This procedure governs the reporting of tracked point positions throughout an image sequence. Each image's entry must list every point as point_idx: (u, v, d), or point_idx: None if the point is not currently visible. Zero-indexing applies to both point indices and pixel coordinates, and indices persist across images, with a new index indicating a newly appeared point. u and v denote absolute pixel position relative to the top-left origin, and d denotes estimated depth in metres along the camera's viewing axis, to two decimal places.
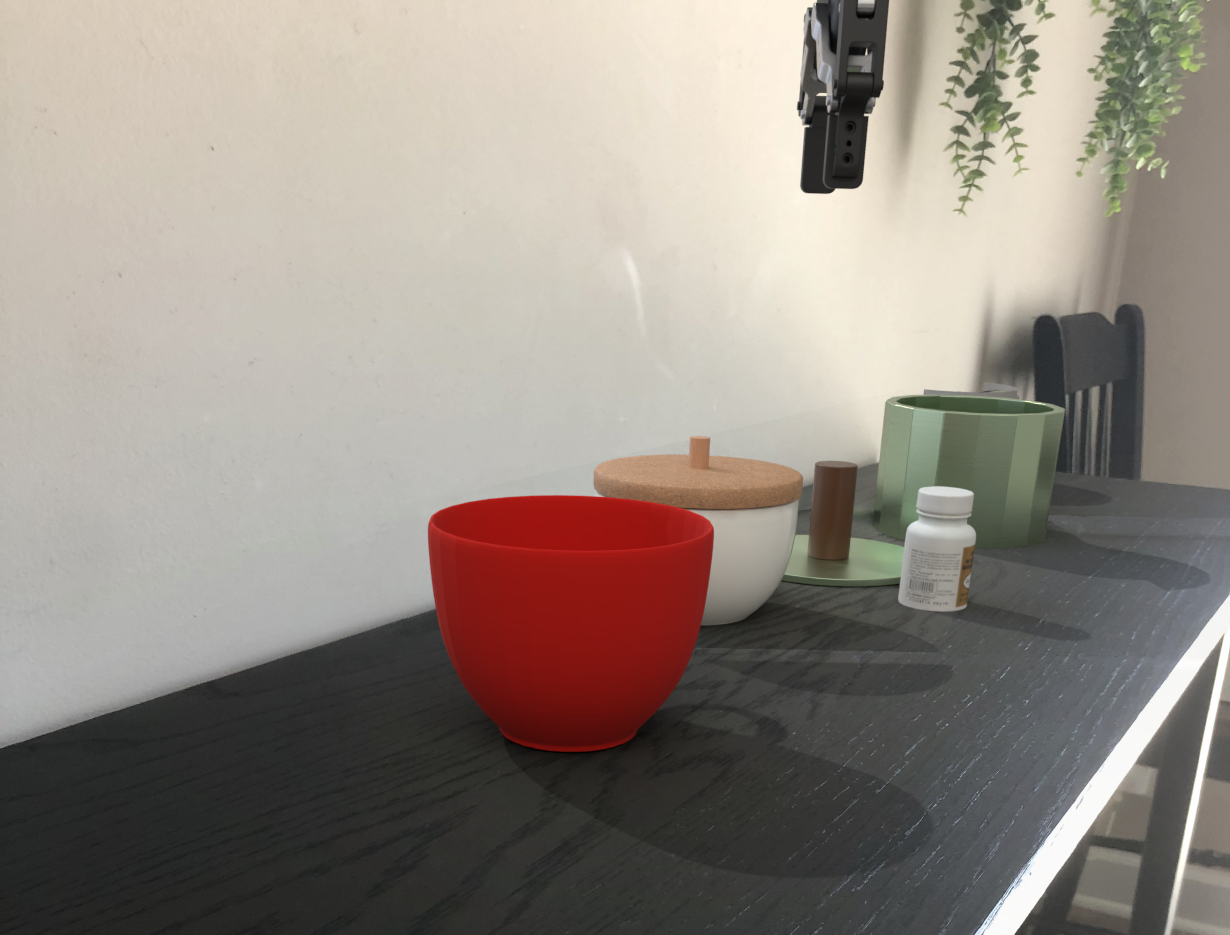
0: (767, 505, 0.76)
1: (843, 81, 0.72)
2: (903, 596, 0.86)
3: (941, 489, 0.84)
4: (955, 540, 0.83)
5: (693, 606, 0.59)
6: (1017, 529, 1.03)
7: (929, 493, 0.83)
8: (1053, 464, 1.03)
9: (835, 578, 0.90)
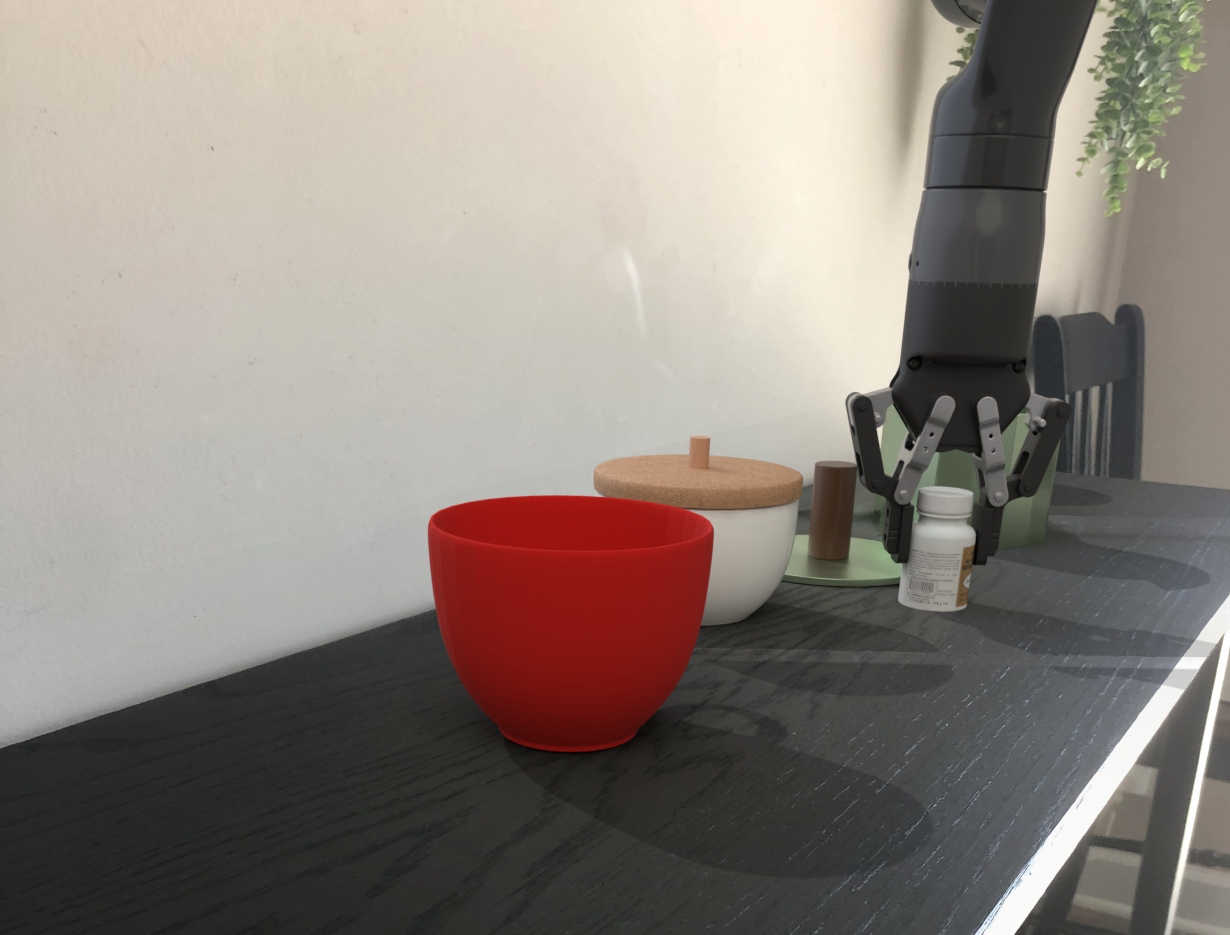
0: (767, 505, 0.76)
1: (860, 476, 0.84)
2: (903, 596, 0.86)
3: (941, 489, 0.84)
4: (955, 540, 0.83)
5: (693, 606, 0.59)
6: (1017, 529, 1.03)
7: (929, 493, 0.83)
8: (1053, 464, 1.03)
9: (835, 578, 0.90)
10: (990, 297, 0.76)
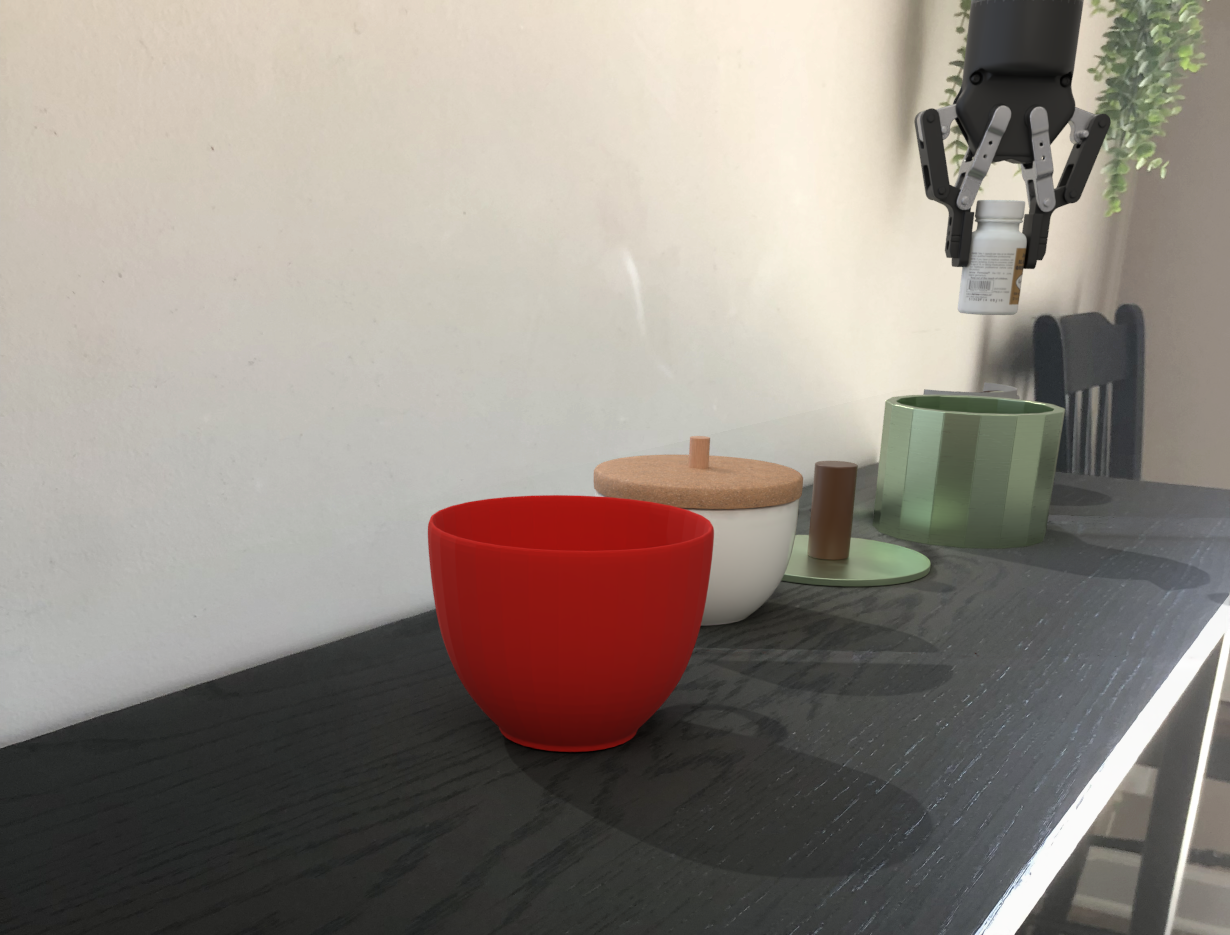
0: (767, 505, 0.76)
1: (926, 189, 0.97)
2: (963, 298, 0.99)
3: None
4: (1010, 240, 0.96)
5: (693, 606, 0.59)
6: (1017, 529, 1.03)
7: (987, 200, 0.96)
8: (1053, 464, 1.03)
9: (835, 578, 0.90)
10: (1043, 9, 0.89)
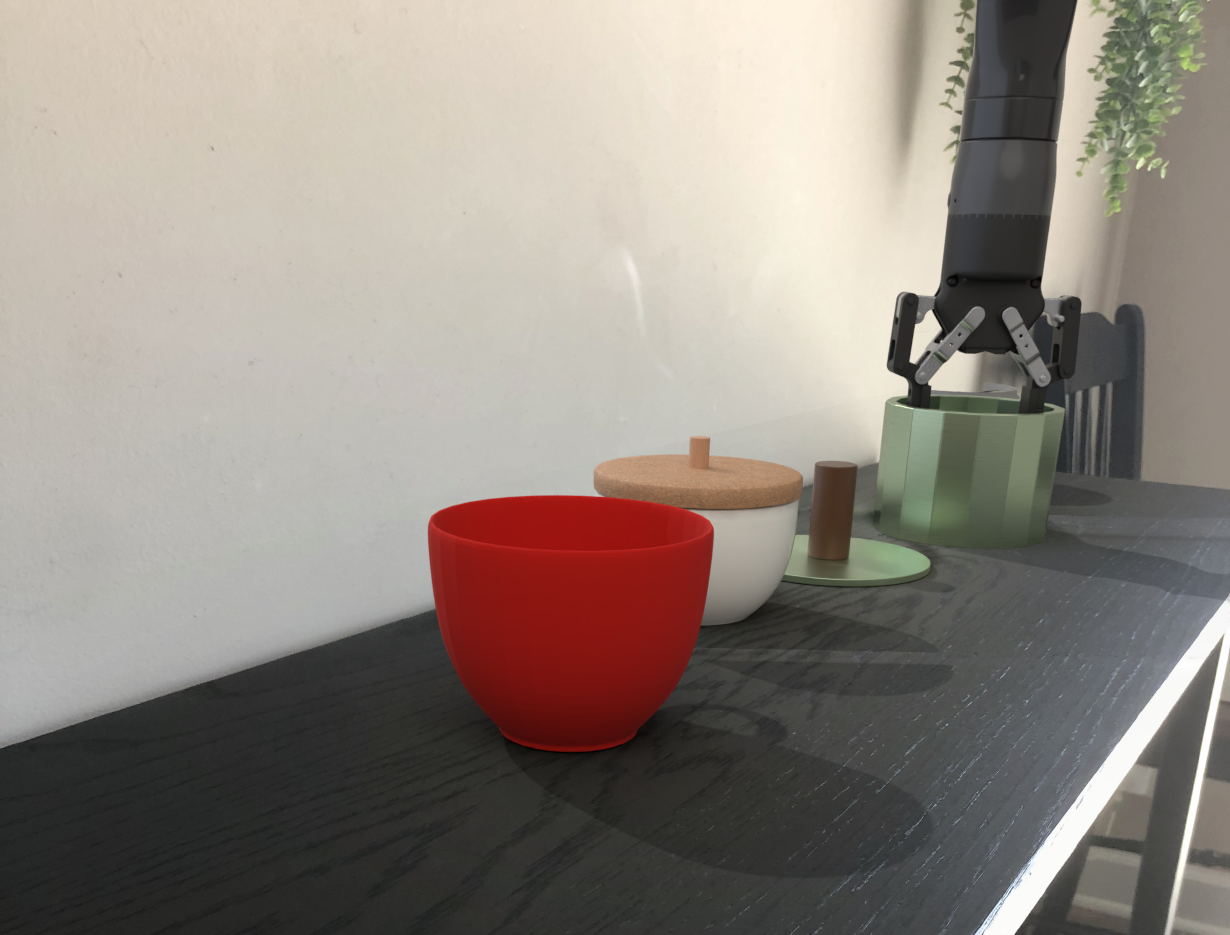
0: (767, 505, 0.76)
1: (887, 363, 1.05)
2: None
3: None
4: None
5: (693, 606, 0.59)
6: (1017, 529, 1.03)
7: None
8: (1053, 464, 1.03)
9: (835, 578, 0.90)
10: (1013, 225, 0.96)
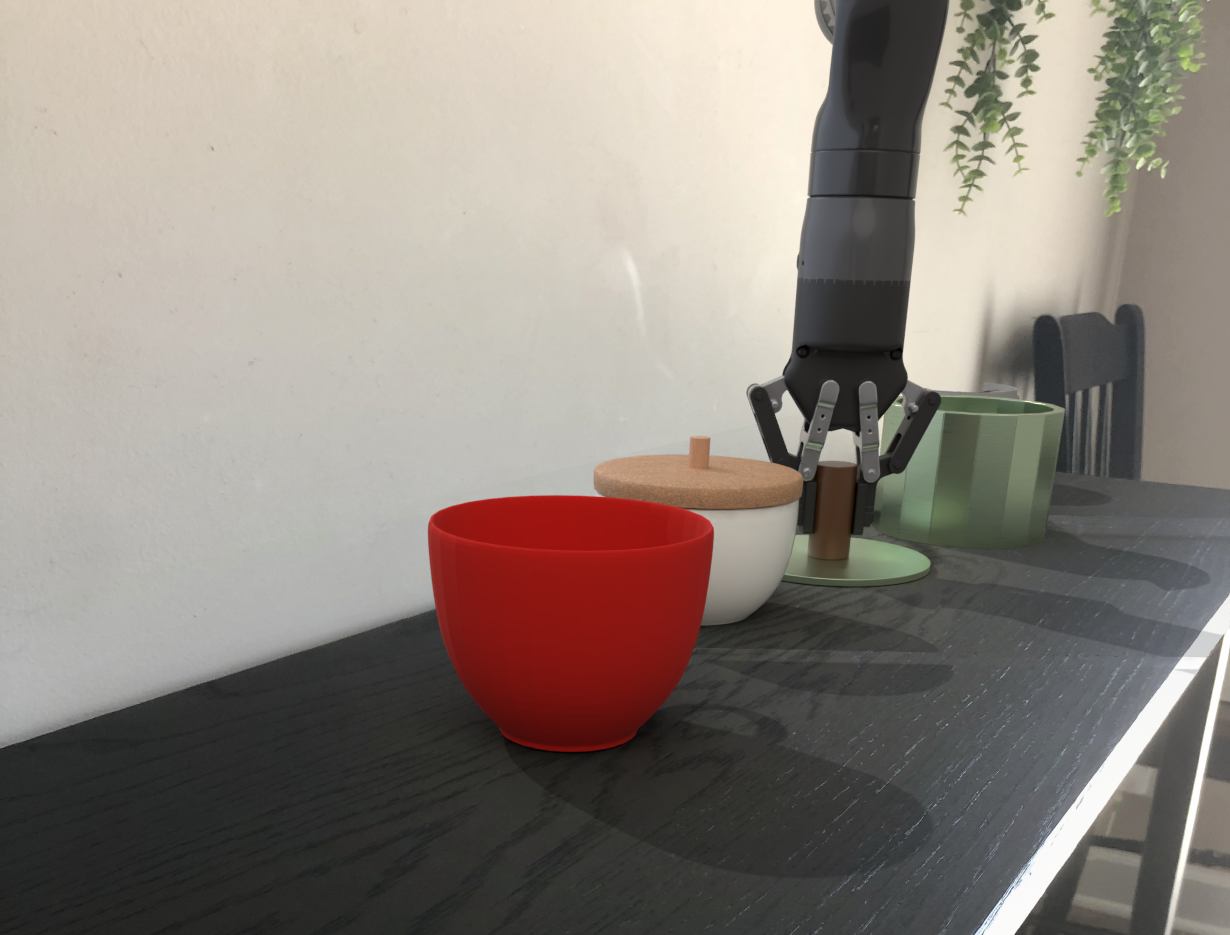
0: (767, 505, 0.76)
1: (769, 456, 0.94)
2: None
3: None
4: None
5: (693, 606, 0.59)
6: (1017, 529, 1.03)
7: None
8: (1053, 464, 1.03)
9: (835, 578, 0.90)
10: (864, 293, 0.86)
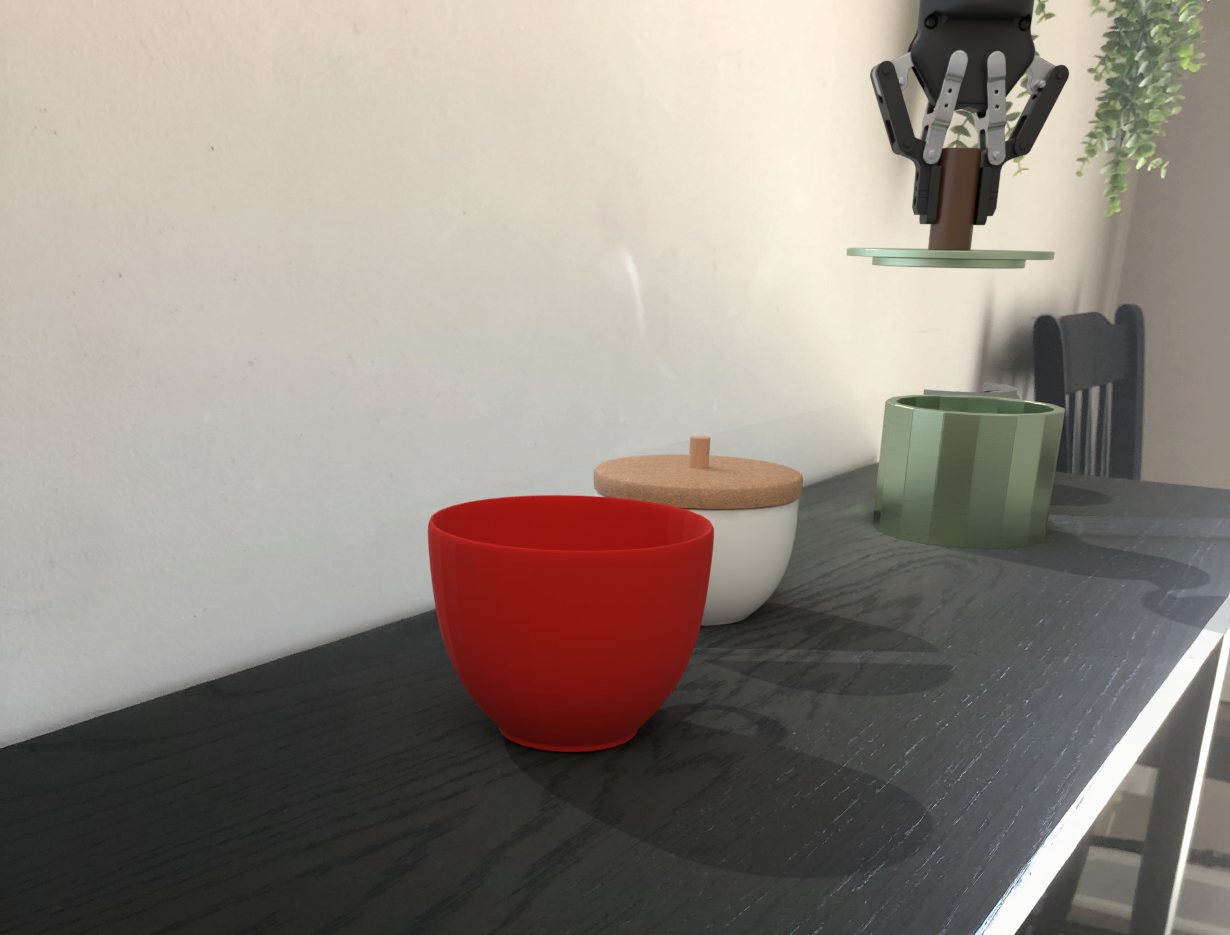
0: (767, 505, 0.76)
1: (892, 143, 0.94)
2: None
3: None
4: None
5: (693, 606, 0.59)
6: (1017, 529, 1.03)
7: None
8: (1053, 464, 1.03)
9: (965, 250, 0.89)
10: None
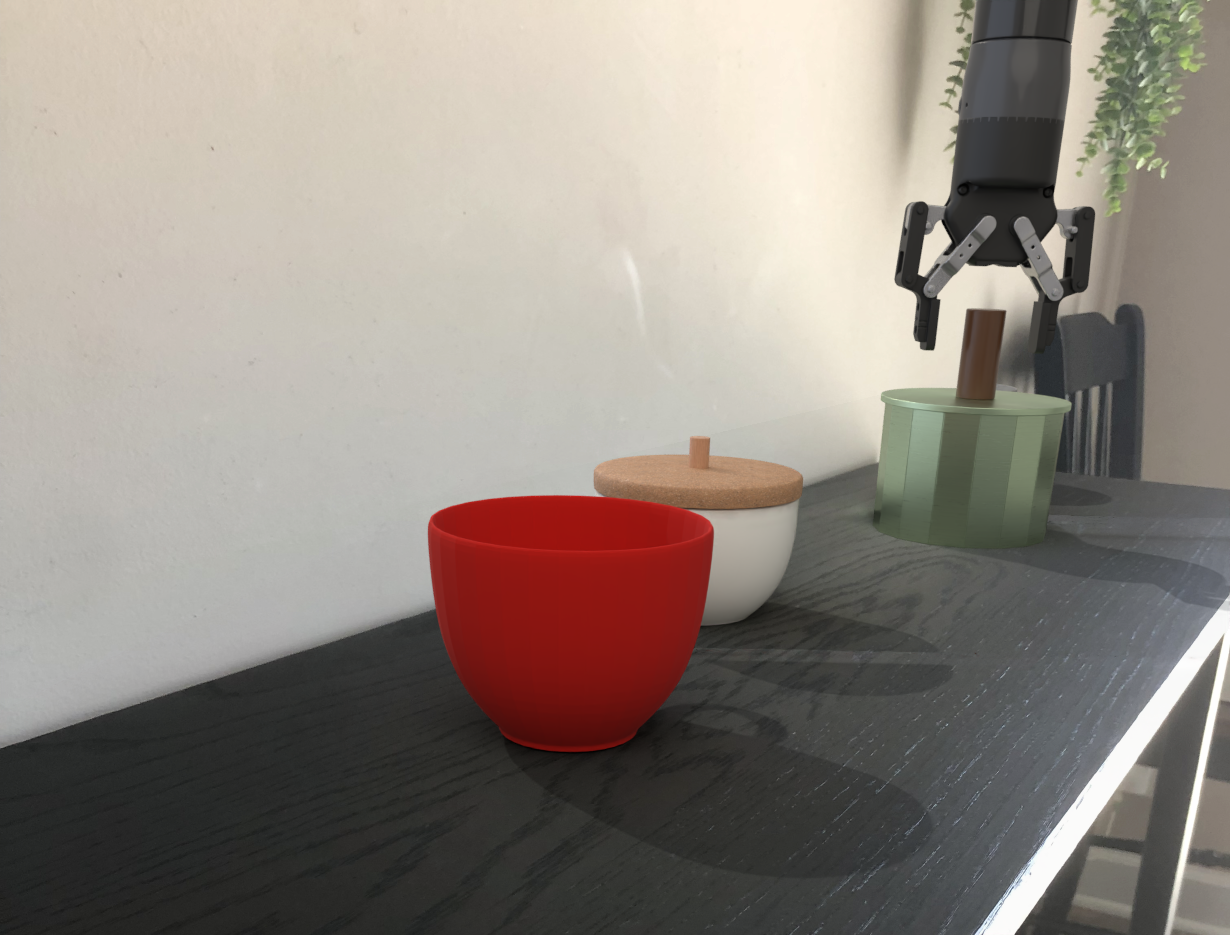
0: (767, 505, 0.76)
1: (895, 277, 1.02)
2: None
3: None
4: None
5: (693, 606, 0.59)
6: (1017, 529, 1.03)
7: None
8: (1053, 464, 1.03)
9: (991, 408, 0.98)
10: (1026, 129, 0.94)
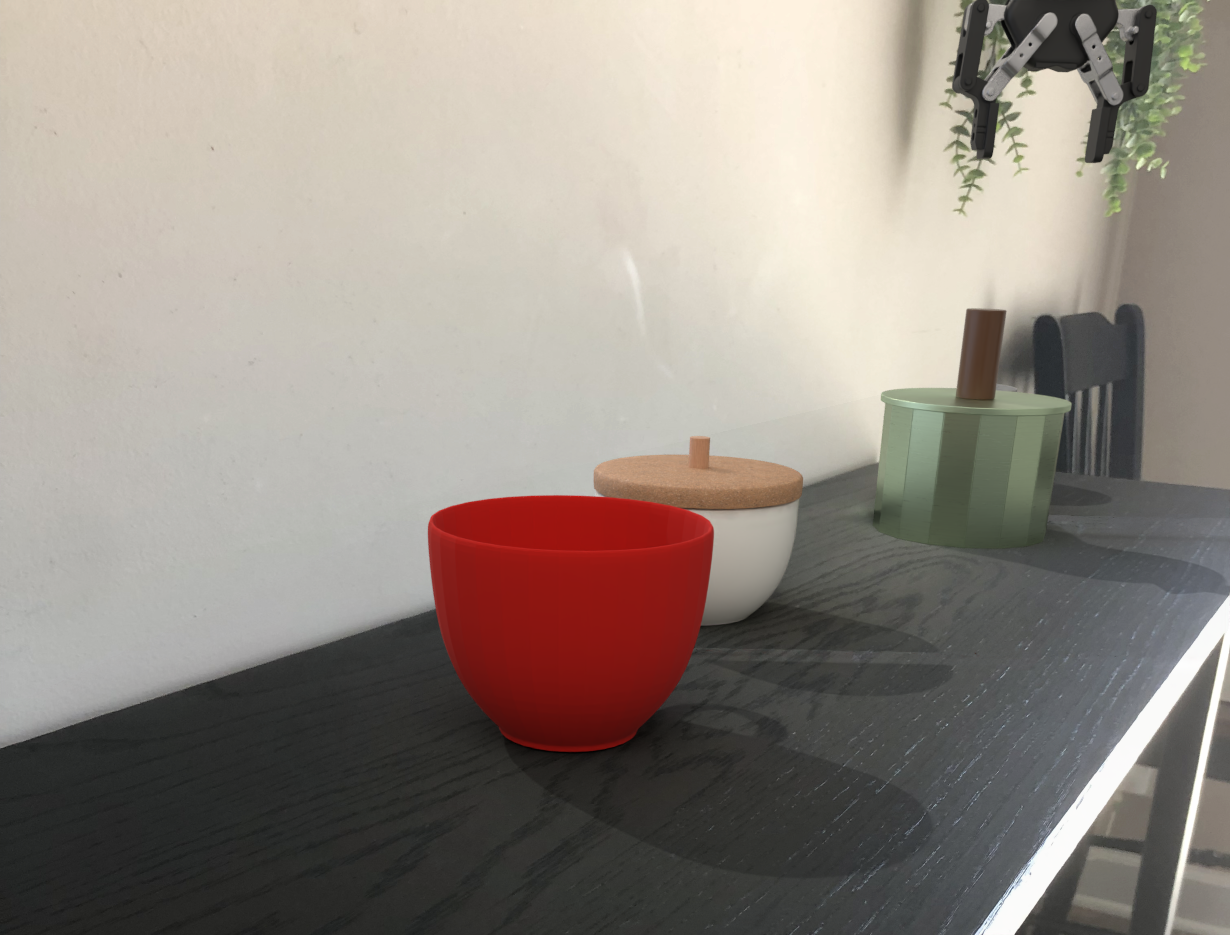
0: (767, 505, 0.76)
1: (953, 82, 1.01)
2: None
3: None
4: None
5: (693, 606, 0.59)
6: (1017, 529, 1.03)
7: None
8: (1053, 464, 1.03)
9: (991, 408, 0.98)
10: None
